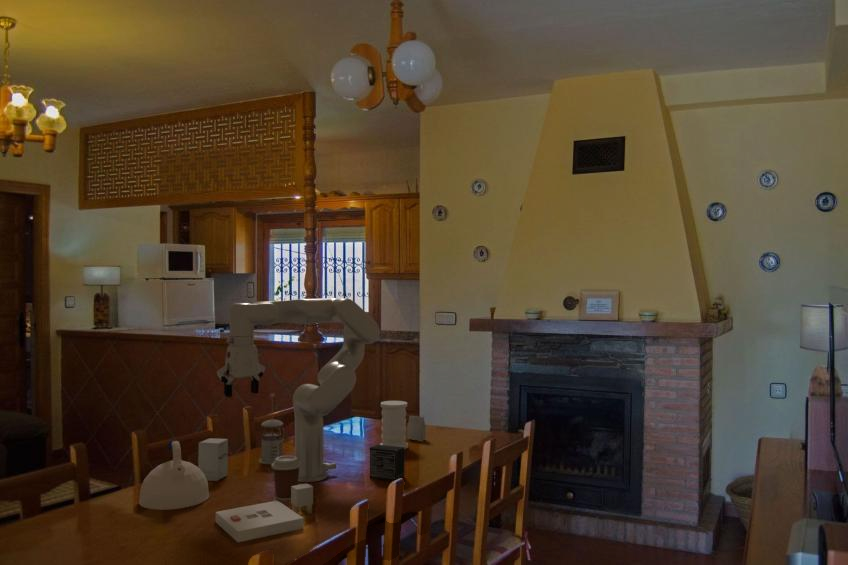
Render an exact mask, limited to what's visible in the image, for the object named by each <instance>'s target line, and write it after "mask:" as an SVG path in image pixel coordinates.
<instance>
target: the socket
mask: <svg viewBox="0 0 848 565" xmlns="http://www.w3.org/2000/svg"><path fill="white" fill-rule="evenodd" d="M304 519H305V518H304V517H303V516H301V515H300V514H299V513H298V514H297V513H295V512H294V511H293V509H290V507H288V506H286V505H285V504H283V503H282V502H281V501H280V500H273V501H268V502H262V503H256V504H252V505H245V506H240V507H235V508H230V509H229V508H228V509H225V510H224V509H223V510H220V511H215V523H216V524H217V525H218V526H219V527H220V528H221V529H223V530H224V531H225V532H226V533H227V535H229V536H230V537H231V538H232V539H233V540H234V541H236V543H241V542H247V541H251V540H255V539H256V540H257V539H260V538H265V537H270V536H275V535H278V534H279V535H280V534H283V533H288V532H293V531H297V530H303V529H304Z"/></svg>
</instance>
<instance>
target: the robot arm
mask: <svg viewBox="0 0 848 565" xmlns="http://www.w3.org/2000/svg"><path fill="white" fill-rule="evenodd" d="M279 323H281V324H283V323H285V324H294V325H295V324H297V325H309V324H312V325H313V324H326V323H329V324H330V323H342V324H343V325H344V327H343V345H342V347H341V348H340V350H338V352H337V353H336V354H335V355H334V356H333V357H332V358H331V359H330V360H329V361H328V362H327V363H325V365H324V366H322V367H321V368H320V370H319V372H318V373H317V381H318V384H319V385H316V384H313V383H303V384H301V385H300V386H298V387H297V388H296V389H295V391H294V392H293V396H292V405H293V406H292V408H293V414H294V456H296V457H297V458H298V460H299V462H301V467H299V477H298V483H314V482H320V481H323V480H325V479H327V478H328V471H329V470H336V469H337V463H336V462H334V463H329V462H326V463H325V462H324V419H323V417H324V416H327V415H328V414H330V413H331V412H333V411H334V409H336V408H337V406H338V405H339V404H341V402H342V401H343V400H345V398H346V397H347V396H348V395H349V394H350V393H351V392H352V391H353V389H354V388H355V385H356V382H357V374H356V372H355V370H356V369H358V367H359V365H360V364H361V363H362V361H363V359H364V356H365V347H366V346H365V345H370V344H371V345H372V344H373V343H375V342H377V341H378V339H379V337H380V334H381V332H380V331H381V330H380V327H379V325H378V323H377V322H376V320H374V319H373V317H371V316H370V315H369V314H368V313H367V311H365V310H364V309H363V308H362V307H361V306H360V305H359V304H357V303H356V302H355V301H354V300H352V299H351V298H347V297H346V298H345V297H328V298H327V297H324V298H301V299H300V298H299V299H298V298H297V299H292V300H291V299H290V300H271V301H267V300H265V301H255V302H253V303H249V302H235V303H232V304H231V305H230V306H229V338H227V339H226V342H225V343H226V344H229V345H228V346H227V349H226V356H225V363H224V364H225V365H224V366H222V367H221V368H219V369H218V370H216V374H217V377H218V379H219V381H221V382H222V384H223V387H224V388H223V394H224V396H225V397H226V398H232V397H233V384H232V382H233V380H234V379H240V378H241V379H242V378H251V379H252V380H251V381H250V392H251V393H252V394H259V388H260V386H259V383H260V381H261V378H262V377H263V375H264V373H265V370H266V366H264V365H262V364H261V363H260V362H259V354H258V347H257V345H256V344H254V342H255V341H254V340H255V337H254V336H255V334H254V333H255V332H254V330H255V328H254V327H255V325H261V326H262V325H263V326H271V325H274V324H279ZM224 373H225V374H224Z"/></svg>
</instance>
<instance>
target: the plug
mask: <svg viewBox="0 0 848 565" xmlns="http://www.w3.org/2000/svg"><path fill="white" fill-rule="evenodd" d="M290 504H291V505H292V511H294V512H295V513H297V514H298V515H299V508H301V511H302V512H306V515H312V513H313V505H314V486H312V485H311V484H309V483H301V484H298V485H295V486H291V500H290Z"/></svg>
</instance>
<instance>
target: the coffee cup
mask: <svg viewBox="0 0 848 565" xmlns="http://www.w3.org/2000/svg"><path fill="white" fill-rule="evenodd" d="M270 465H271V466H270V467H271V469H273V478H274V493H275V499H276V501H282V502H283V501H291V486H295V485H299V482H298V477H299V467H301V462H299V460H298V458H297V457H296V456H295V455H283V456H280V457H277V458H275V461H274V463H272V464H270Z"/></svg>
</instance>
